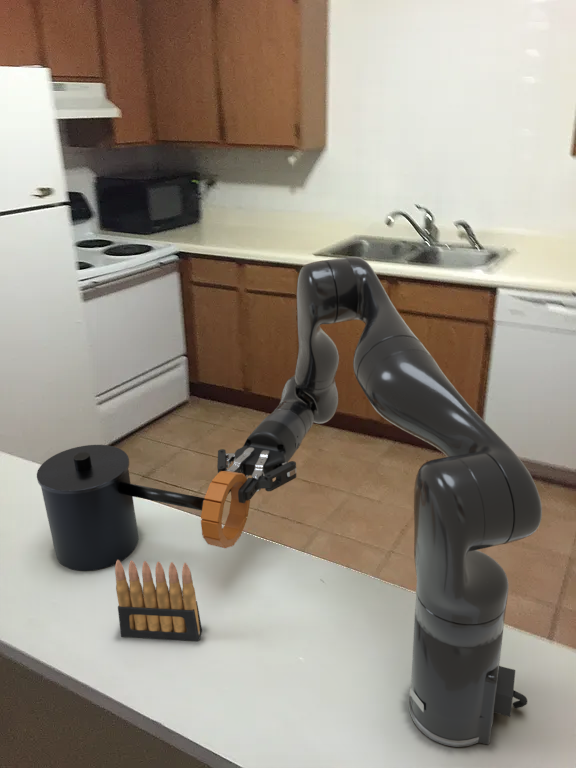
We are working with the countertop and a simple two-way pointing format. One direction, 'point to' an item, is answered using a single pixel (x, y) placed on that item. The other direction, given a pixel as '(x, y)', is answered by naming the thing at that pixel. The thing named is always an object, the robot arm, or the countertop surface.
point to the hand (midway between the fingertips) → (230, 495)
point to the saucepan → (96, 505)
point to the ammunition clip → (157, 604)
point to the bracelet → (214, 510)
